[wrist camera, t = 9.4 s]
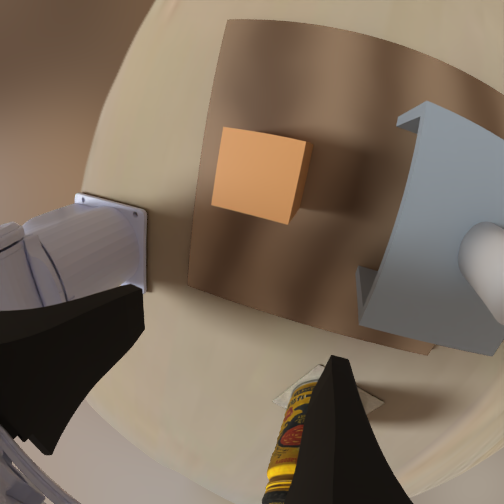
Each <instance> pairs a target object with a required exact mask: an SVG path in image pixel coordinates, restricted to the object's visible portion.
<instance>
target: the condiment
mask: <svg viewBox="0 0 504 504" xmlns="http://www.w3.org/2000/svg"><path fill="white" fill-rule="evenodd" d="M324 368H325V367H323V366H321V365H318V366H316V367H315V368H314V369H313V370H311V371H310V372H309V373H308V374H306V375H305V376H304V377H302V378H301V379H300V380H299V381H297V382H296V383H295V384H294V385H292V386H291V387H290V388H289V389H287V390H286V391H285V392H284V393H282V394H281V395H280V396H279V397H277V398H276V399H275V400H273V401H272V402H273V403H275V404H277V405H279V406H281V407H283V408H285V409H287V411H286V413H285V418H284V421H283V424H282V426H281V430H280V433H279V436H278V438H277V444H276V447H275V450H274V452H273V454H272V457H271V460H270V463H269V467H268V470H267V476H268V479H269V483H268V484H267V486H266V491H265V494H264V497H263V499H262V504H284V501H285V499H286V496H287V493H288V490H289V488H290V485H291V482H292V479H293V476H294V472H295V468H296V463H297V458H298V453H299V448H300V443H301V437H302V432H303V426H304V420H305V415H306V412H307V408H308V404H309V401H310V397H311V394H312V391H313V389H314V387H315V385H316V384H317V382H318V380H319V378H320V376H321V374H322V372H323V370H324ZM357 389H358V392H359V395H360V398H361V401H362V404H363V407H364V409H365V412H366V415H367V414H368V413H370V412H372V411H373V410H374V409H376V408H378V407H380V406H381V405H383V404H384V403H385V402H383V401H380V400H379V399H377V398H376V397H373V396H371V395H370V394H368V393H367V392H364V391H363V390H361V389H359V388H358V387H357Z"/></svg>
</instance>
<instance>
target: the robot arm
mask: <svg viewBox="0 0 504 504" xmlns="http://www.w3.org/2000/svg"><path fill="white" fill-rule="evenodd" d="M136 212H137V215H138V216H137V215H136ZM146 232H147V213H146V211H145V210H144V209H141V208H137V207H133V206H130V205H126V204H122V203H118V202H114V201H110V200H107V199H103V198H99V197H95V196H91V195H87V194H83V193H77V194H76V195H75V203H74V204H71V205H68V206H65V207H62V208H59V209H56V210H53V211H50V212H48V213H45V214H42V215H39V216H36V217H34V218H32V219H30V220H28V221H27V222H26V223H25V224H24V225H23V226H19V225H18V224H17V223H15V222H9V223H5V224H2V225H0V504H46V503H45V502H44V500H45V496H46V497H47V498H49V499H50V500H51V501H52V502H53V503H54V504H81V503H79V502H78V501H77V500H75V499H74V498H73V497H71V496H70V495H69V494H68V493H67V492H66V491H64V490H63V489H62V488H61V487H60V486H59V485H57V484H56V483H55V482H54V481H53V480H52V479H51V478H50V477H49V476H47V475H46V474H45V473H44V472H43V471H42V470H41V469H40V468H39V467H38V466H37V465H36V464H35V463H34V462H33V461H32V460H31V459H30V458H29V457H28V456H27V454H25V452H24V451H23V450H22V449H21V448H20V447H19V445H18V444H17V443H16V442H15V441H14V440H13V439H14V438H15V437H16V436H18V437H19V438H20V439H21V440H22V441H23V442H25V441H26V440H27V439H29V440H30V441H31V442H32V443H33V444H34V445H35V446H36V447H37V448H38V449H39V450H40V451H41V452H42V453H43V454H44V455H52V454H53V451H54V449H55V446H56V445H57V442H58V440H59V439H60V436H61V434H62V433H63V431H64V429H65V427H66V426H67V424H68V422H69V421H70V419H71V417H72V416H73V414H74V413H75V411H76V410H77V408H78V407H79V405H80V404H81V402H82V401H83V400H84V398H85V397H86V396H87V394H88V393H89V392H90V390H91V389H92V388H93V387H94V386H95V384H96V383H97V382H98V381H99V380H100V379H101V378H102V377H103V376H104V375H105V374H106V373H107V372H108V371H109V370H110V369H111V368H112V367H113V366H114V365H115V364H116V363H117V362H118V361H119V360H120V359H121V358H122V357H123V356H124V355H125V354H126V353H127V352H128V351H129V349H130V348H131V347H132V346H133V345H134V343H135V342H136V341H137V339H138V338H139V337H140V335H141V334H142V332H143V331H144V330H145V325H144V310H143V294H144V293H145V292H146ZM120 285H122V286H120ZM118 286H119V287H118ZM12 461H13V463H14V464H15V465H16V466H17V467H18V468H19V469H20V471H21V472H22V473H23V474H24V475H23V474H22V473H21V472H20V471H19V470H18V469H16V468H15V467H14V466H13V465H12ZM42 493H43V494H44V495H45V496H44V495H43V494H42ZM284 504H413V503H412V501H411V500H410V499H409V497H408V496H407V494H406V493H405V491H404V490H403V488H402V486H401V485H400V483H399V482H398V480H397V479H396V477H395V476H394V474H393V472H392V470H391V468H390V467H389V465H388V463H387V461H386V459H385V457H384V455H383V453H382V451H381V449H380V447H379V445H378V442H377V440H376V438H375V435H374V433H373V430H372V428H371V426H370V423H369V420H368V418H367V415H366V412H365V409H364V407H363V404H362V401H361V398H360V395H359V392H358V389H357V385H356V382H355V379H354V376H353V372H352V369H351V365H350V362H349V360H348V359H345V358H341V357H337V356H333V355H331V357H330V359H329V361H328V363H327V364H326V366H325V368H324V370H323V372H322V374H321V376H320V378H319V380H318V382H317V384H316V385H315V387H314V389H313V391H312V394H311V397H310V401H309V404H308V408H307V412H306V415H305V420H304V426H303V432H302V437H301V443H300V448H299V453H298V458H297V463H296V468H295V472H294V476H293V479H292V482H291V485H290V488H289V490H288V493H287V496H286V499H285V501H284Z"/></svg>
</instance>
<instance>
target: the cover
mask: <svg viewBox="0 0 504 504" xmlns="http://www.w3.org/2000/svg"><path fill="white" fill-rule="evenodd" d="M396 127H399V128H402V129H405V130H408V131H410V132H413V133H416V134H417V139H416V144H415V149H414V153H413V158H412V162H411V167H410V171H409V175H408V179H407V183H406V186H405V190H404V194H403V197H402V201H401V204H400V208H399V211H398V214H397V218H396V221H395V224H394V227H393V230H392V233H391V236H390V239H389V242H388V245H387V248H386V251H385V254H384V256H383V259H382V262H381V264H380V267H379V270H378V271H375V270H372V269H369V268H365V267H362V266H359V265H358V268H357V270H356V273H355V276H356V288H357V302H358V320H359V325H361V326H364V327H368V328H372V329H376V330H380V331H383V332H387V333H391V334H395V335H399V336H403V337H407V338H411V339H415V340H419V341H424V342H428V343H432V344H436V345H441V346H445V347H450V348H454V349H459V350H463V351H468V352H473V353H478V354H483V355H488V356H493V355H494V353H495V352H496V350H497V349H498V347H499V346H500V344H501V343H502V341H503V340H504V140H503V139H501V138H500V137H498V136H496V135H495V134H493V133H491V132H490V131H488V130H486V129H485V128H483V127H481V126H479V125H477V124H475V123H474V122H472V121H470V120H468V119H466V118H464V117H462V116H460V115H458V114H456V113H454V112H452V111H450V110H447V109H445V108H443V107H441V106H438V105H436V104H434V103H431V102H429V101H425V102H424V103H422V104H420V105H418V106H416V107H415V108H413V109H411V110H409V111H408V112H406V113H404V114H402V115H401V116H399V117H398V120H397V125H396Z"/></svg>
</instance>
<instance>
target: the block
mask: <svg viewBox="0 0 504 504" xmlns="http://www.w3.org/2000/svg"><path fill="white" fill-rule="evenodd" d="M313 145H314V144H312V143H309V142H306V141H301V140H297V139H292V138H287V137H282V136H277V135H272V134H266V133H261V132H255V131H249V130H242V129H235V128H228V127H223V131H222V137H221V143H220V149H219V155H218V162H217V168H216V175H215V182H214V189H213V196H212V203H211V205H213V206H217V207H221V208H225V209H229V210H233V211H237V212H241V213H245V214H249V215H253V216H257V217H260V218H264V219H268V220H272V221H276V222H279V223H283V224H287V225H288V224H289V223H290V221H291V220H292V218H293V217H294V216H295V214H296V213H297V211H298V210H299V208H300V204H301V200H302V196H303V191H304V187H305V182H306V178H307V173H308V169H309V164H310V159H311V155H312V150H313Z"/></svg>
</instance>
